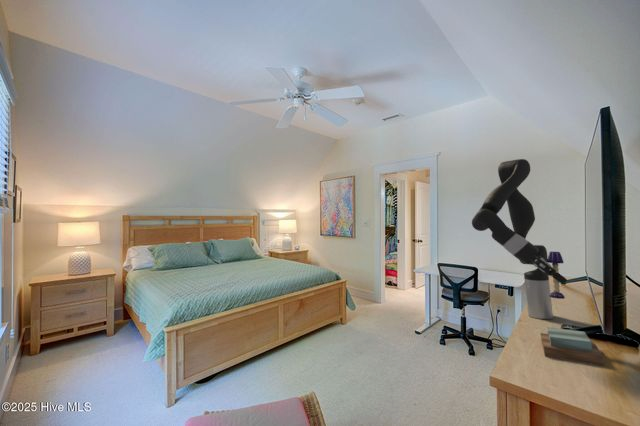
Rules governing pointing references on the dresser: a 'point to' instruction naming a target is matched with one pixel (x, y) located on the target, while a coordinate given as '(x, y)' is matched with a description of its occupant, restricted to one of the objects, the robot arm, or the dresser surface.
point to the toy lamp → (555, 259)
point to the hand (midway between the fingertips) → (564, 281)
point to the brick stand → (571, 346)
